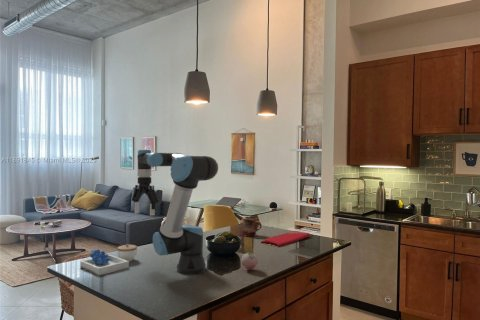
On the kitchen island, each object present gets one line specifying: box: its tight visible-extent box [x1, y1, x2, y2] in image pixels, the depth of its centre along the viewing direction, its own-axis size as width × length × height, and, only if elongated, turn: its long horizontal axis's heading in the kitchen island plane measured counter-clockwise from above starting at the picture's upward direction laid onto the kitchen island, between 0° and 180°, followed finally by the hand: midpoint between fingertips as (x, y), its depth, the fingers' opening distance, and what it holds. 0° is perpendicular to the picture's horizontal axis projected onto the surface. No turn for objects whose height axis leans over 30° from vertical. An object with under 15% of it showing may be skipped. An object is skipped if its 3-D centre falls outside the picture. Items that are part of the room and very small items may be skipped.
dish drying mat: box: [260, 230, 311, 247], centre depth 259 cm, size 16×41×4 cm, turn 137°
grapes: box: [89, 249, 109, 264], centre depth 194 cm, size 12×7×12 cm
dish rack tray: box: [79, 254, 130, 276], centre depth 191 cm, size 19×17×4 cm
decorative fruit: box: [240, 251, 259, 271], centre depth 189 cm, size 9×8×10 cm
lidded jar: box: [116, 243, 138, 262], centre depth 204 cm, size 11×11×9 cm
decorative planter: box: [239, 216, 262, 237], centre depth 272 cm, size 20×12×14 cm, turn 55°
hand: (144, 214), depth 202 cm, fingers open, 13 cm apart
